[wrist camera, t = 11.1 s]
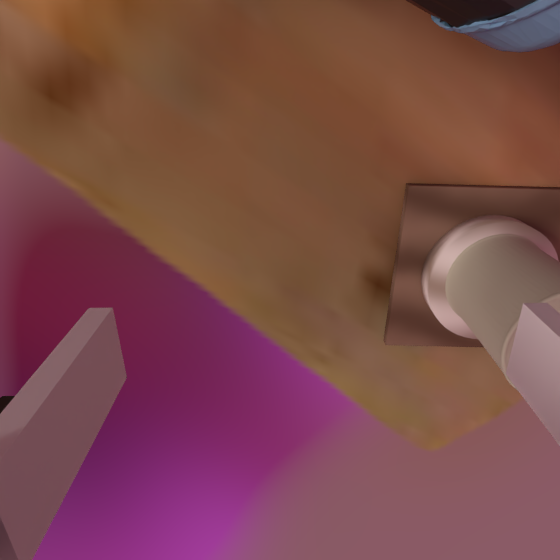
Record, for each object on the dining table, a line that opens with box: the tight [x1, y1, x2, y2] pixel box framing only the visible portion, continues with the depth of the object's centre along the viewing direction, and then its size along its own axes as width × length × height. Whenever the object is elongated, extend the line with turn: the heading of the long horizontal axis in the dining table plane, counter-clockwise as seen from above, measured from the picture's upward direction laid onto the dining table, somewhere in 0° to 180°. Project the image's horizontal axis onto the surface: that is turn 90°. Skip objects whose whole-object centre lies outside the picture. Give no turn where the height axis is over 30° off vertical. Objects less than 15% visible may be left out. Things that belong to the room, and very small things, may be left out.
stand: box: [384, 183, 560, 347], centre depth 43 cm, size 17×17×4 cm
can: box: [445, 234, 560, 390], centre depth 35 cm, size 9×9×12 cm
